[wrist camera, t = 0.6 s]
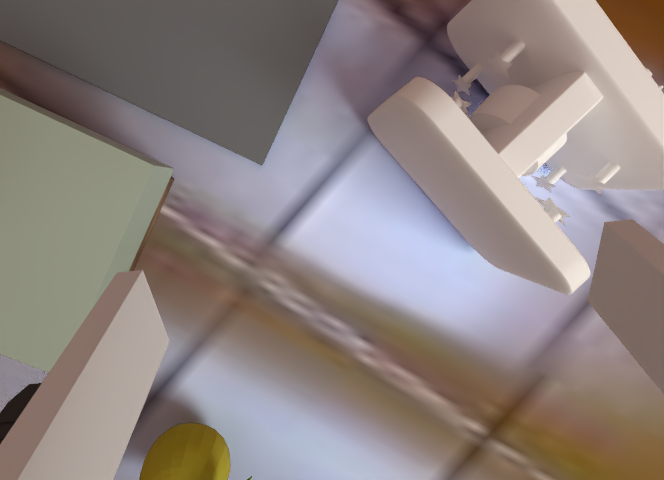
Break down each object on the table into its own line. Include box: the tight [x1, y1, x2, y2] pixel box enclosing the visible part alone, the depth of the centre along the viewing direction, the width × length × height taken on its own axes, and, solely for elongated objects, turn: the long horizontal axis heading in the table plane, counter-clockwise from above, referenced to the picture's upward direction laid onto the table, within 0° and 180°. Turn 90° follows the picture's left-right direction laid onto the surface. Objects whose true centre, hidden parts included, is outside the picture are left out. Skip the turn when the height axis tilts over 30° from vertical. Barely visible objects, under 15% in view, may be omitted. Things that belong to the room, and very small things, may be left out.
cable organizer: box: [367, 0, 664, 295], centre depth 28 cm, size 15×11×12 cm
